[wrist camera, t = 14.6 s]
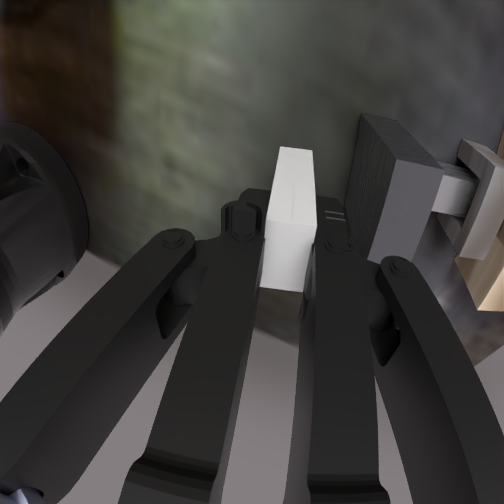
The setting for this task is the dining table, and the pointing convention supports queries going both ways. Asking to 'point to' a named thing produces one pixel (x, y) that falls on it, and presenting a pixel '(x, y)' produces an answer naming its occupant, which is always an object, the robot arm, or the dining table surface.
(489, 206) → the socket block
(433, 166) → the pin
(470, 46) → the dining table surface
